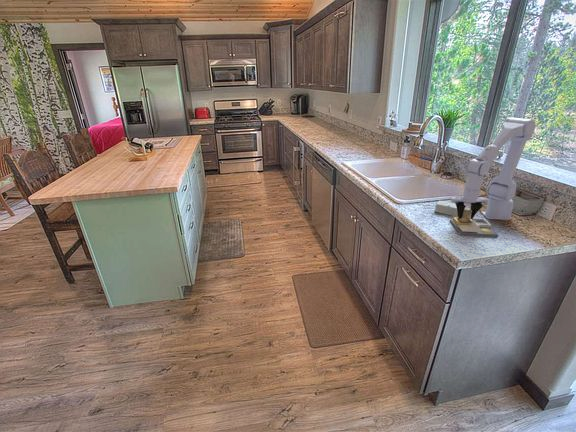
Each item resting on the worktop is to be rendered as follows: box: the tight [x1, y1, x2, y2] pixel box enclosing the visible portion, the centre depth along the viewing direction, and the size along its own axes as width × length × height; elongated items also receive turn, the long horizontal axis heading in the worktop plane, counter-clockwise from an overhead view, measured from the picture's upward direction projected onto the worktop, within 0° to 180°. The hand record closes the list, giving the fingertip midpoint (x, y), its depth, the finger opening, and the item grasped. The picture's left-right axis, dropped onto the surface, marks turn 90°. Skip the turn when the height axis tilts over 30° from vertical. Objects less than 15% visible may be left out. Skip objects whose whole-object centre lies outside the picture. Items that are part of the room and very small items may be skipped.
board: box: [449, 216, 499, 238], centre depth 130 cm, size 14×14×2 cm
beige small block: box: [459, 207, 472, 223], centre depth 132 cm, size 4×4×6 cm
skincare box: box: [434, 200, 467, 217], centre depth 145 cm, size 6×4×12 cm
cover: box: [458, 220, 480, 232], centre depth 126 cm, size 6×5×3 cm
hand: (465, 217), depth 132 cm, fingers open, 4 cm apart
